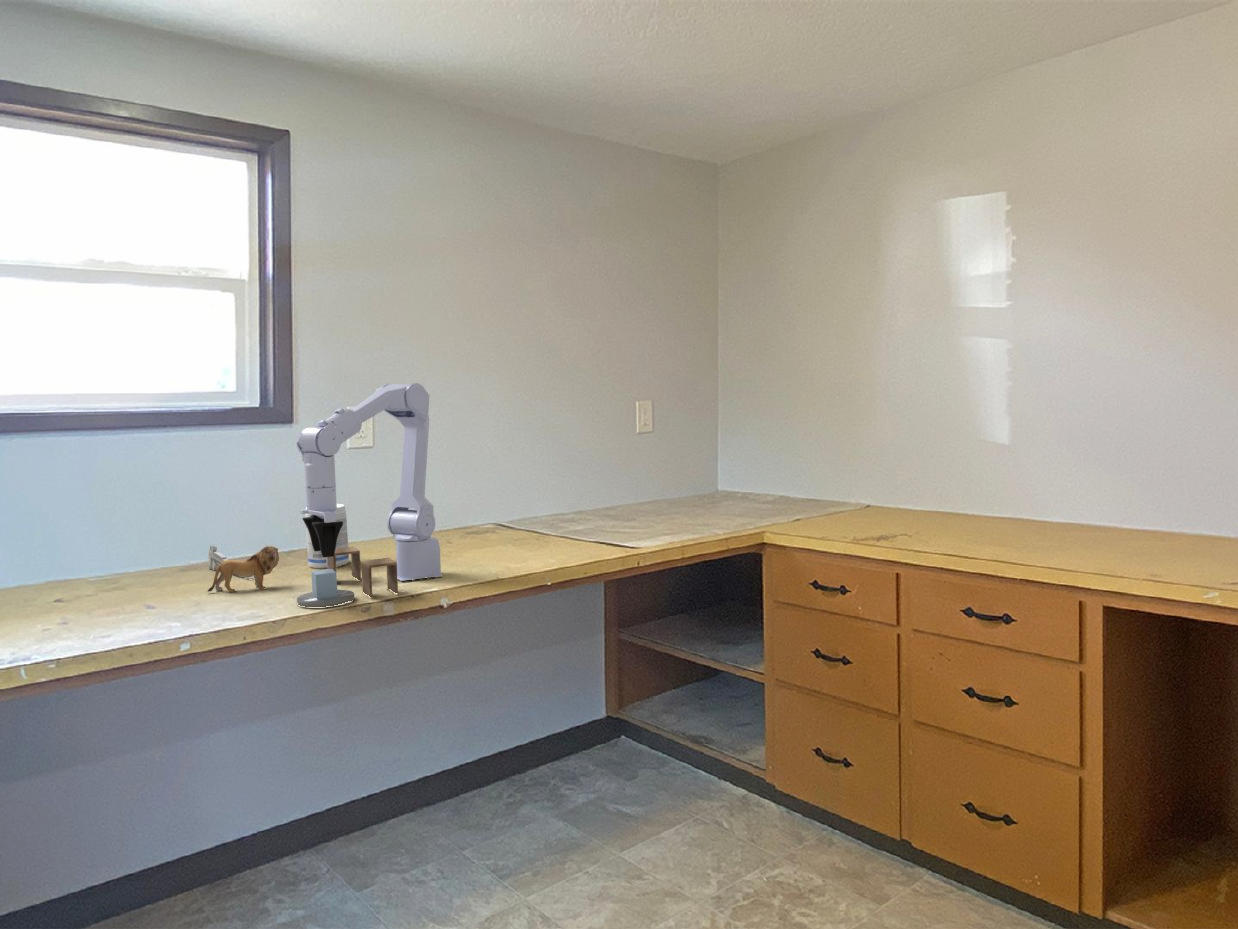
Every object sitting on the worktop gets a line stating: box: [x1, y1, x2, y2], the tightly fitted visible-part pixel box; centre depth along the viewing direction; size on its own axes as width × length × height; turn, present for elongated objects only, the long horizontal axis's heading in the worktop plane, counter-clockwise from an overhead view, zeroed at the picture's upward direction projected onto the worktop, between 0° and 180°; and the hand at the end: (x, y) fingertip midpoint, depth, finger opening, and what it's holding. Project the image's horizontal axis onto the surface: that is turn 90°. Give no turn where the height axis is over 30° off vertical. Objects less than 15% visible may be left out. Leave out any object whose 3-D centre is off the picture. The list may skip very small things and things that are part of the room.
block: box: [311, 568, 338, 599], centre depth 172 cm, size 4×4×5 cm
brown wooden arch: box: [327, 546, 362, 581], centre depth 191 cm, size 6×6×7 cm
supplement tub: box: [304, 503, 350, 569], centre depth 208 cm, size 10×10×15 cm
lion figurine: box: [207, 545, 280, 593], centre depth 184 cm, size 15×5×9 cm, turn 122°
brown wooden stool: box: [360, 557, 399, 597], centre depth 177 cm, size 6×6×7 cm
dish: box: [296, 589, 355, 607], centre depth 172 cm, size 11×11×1 cm
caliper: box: [207, 544, 255, 580], centre depth 200 cm, size 20×1×6 cm, turn 51°
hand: (323, 553), depth 171 cm, fingers open, 7 cm apart
